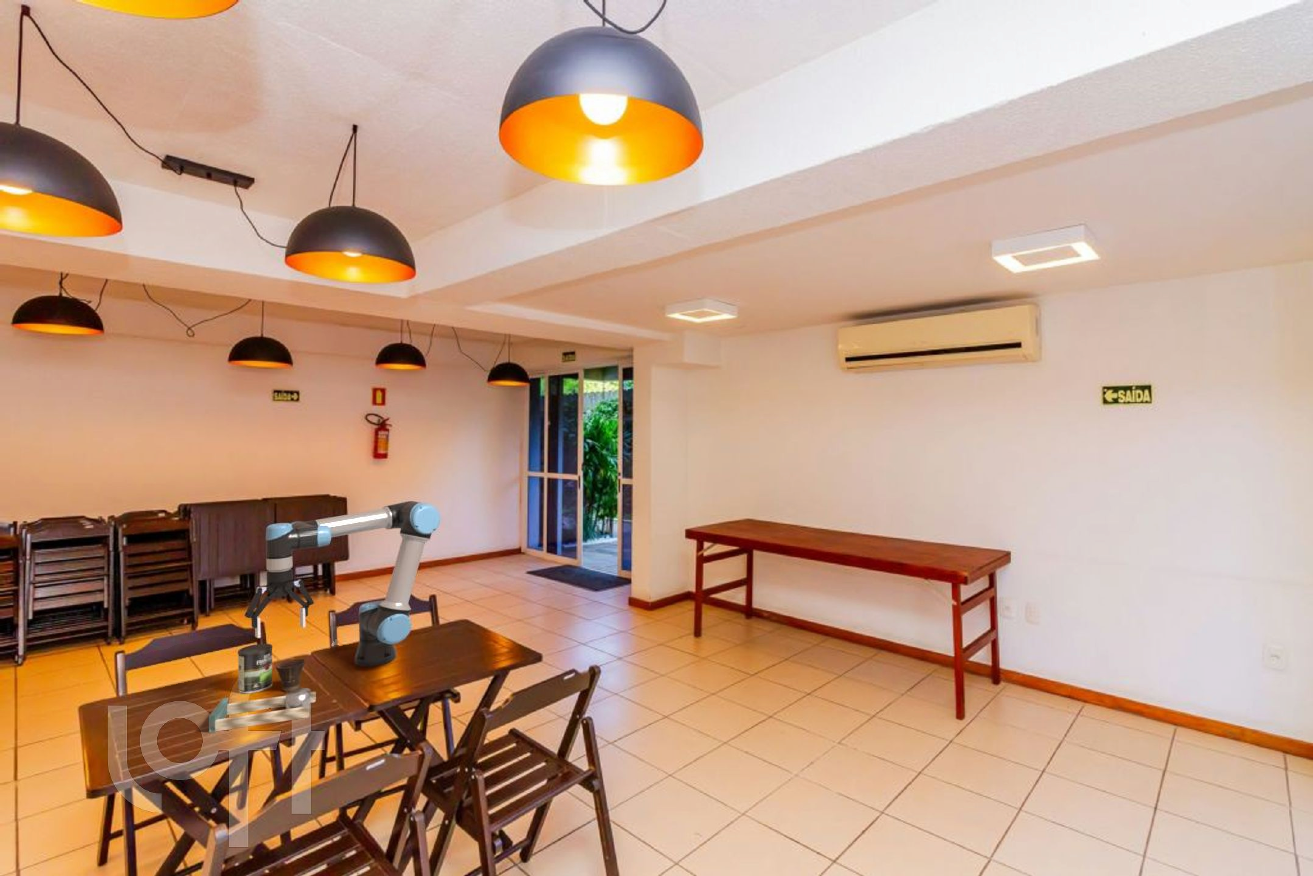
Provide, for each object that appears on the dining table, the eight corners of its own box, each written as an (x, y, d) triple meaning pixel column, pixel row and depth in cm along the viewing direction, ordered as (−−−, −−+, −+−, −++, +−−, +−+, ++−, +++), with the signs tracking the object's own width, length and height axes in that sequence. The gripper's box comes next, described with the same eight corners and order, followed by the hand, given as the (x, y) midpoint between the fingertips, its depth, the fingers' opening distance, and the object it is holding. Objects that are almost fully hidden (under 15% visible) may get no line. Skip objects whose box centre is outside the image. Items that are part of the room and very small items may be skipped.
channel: (315, 700, 204) (315, 685, 204) (308, 717, 191) (308, 701, 191) (223, 713, 194) (222, 698, 194) (209, 732, 182) (209, 716, 182)
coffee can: (279, 682, 218) (279, 644, 218) (255, 695, 208) (255, 654, 208) (256, 680, 220) (255, 642, 220) (230, 692, 210) (230, 652, 210)
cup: (265, 691, 209) (269, 662, 210) (289, 685, 217) (293, 656, 218) (283, 696, 206) (288, 666, 207) (307, 689, 214) (310, 660, 215)
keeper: (312, 704, 201) (312, 686, 201) (308, 713, 194) (308, 695, 194) (288, 708, 198) (288, 690, 198) (283, 717, 192) (283, 698, 191)
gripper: (314, 561, 215) (315, 620, 216) (232, 574, 196) (234, 639, 196) (323, 564, 210) (324, 624, 211) (240, 578, 191) (241, 644, 192)
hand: (280, 631), depth 204 cm, fingers open, 13 cm apart
